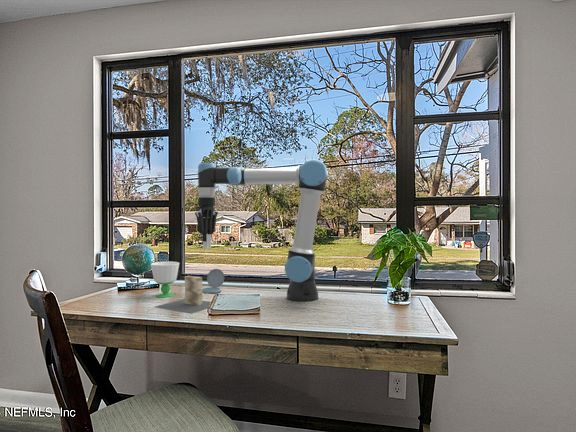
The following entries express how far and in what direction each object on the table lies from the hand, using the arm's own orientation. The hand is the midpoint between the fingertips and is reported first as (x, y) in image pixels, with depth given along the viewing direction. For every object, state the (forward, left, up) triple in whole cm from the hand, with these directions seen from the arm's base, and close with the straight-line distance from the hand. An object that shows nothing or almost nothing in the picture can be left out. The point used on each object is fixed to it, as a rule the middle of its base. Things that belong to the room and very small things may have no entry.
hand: (206, 248), depth 199 cm
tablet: (0, +9, -24) cm, 25 cm away
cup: (+26, +1, -25) cm, 36 cm away
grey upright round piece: (+12, -17, -25) cm, 32 cm away
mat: (0, +12, -24) cm, 27 cm away
